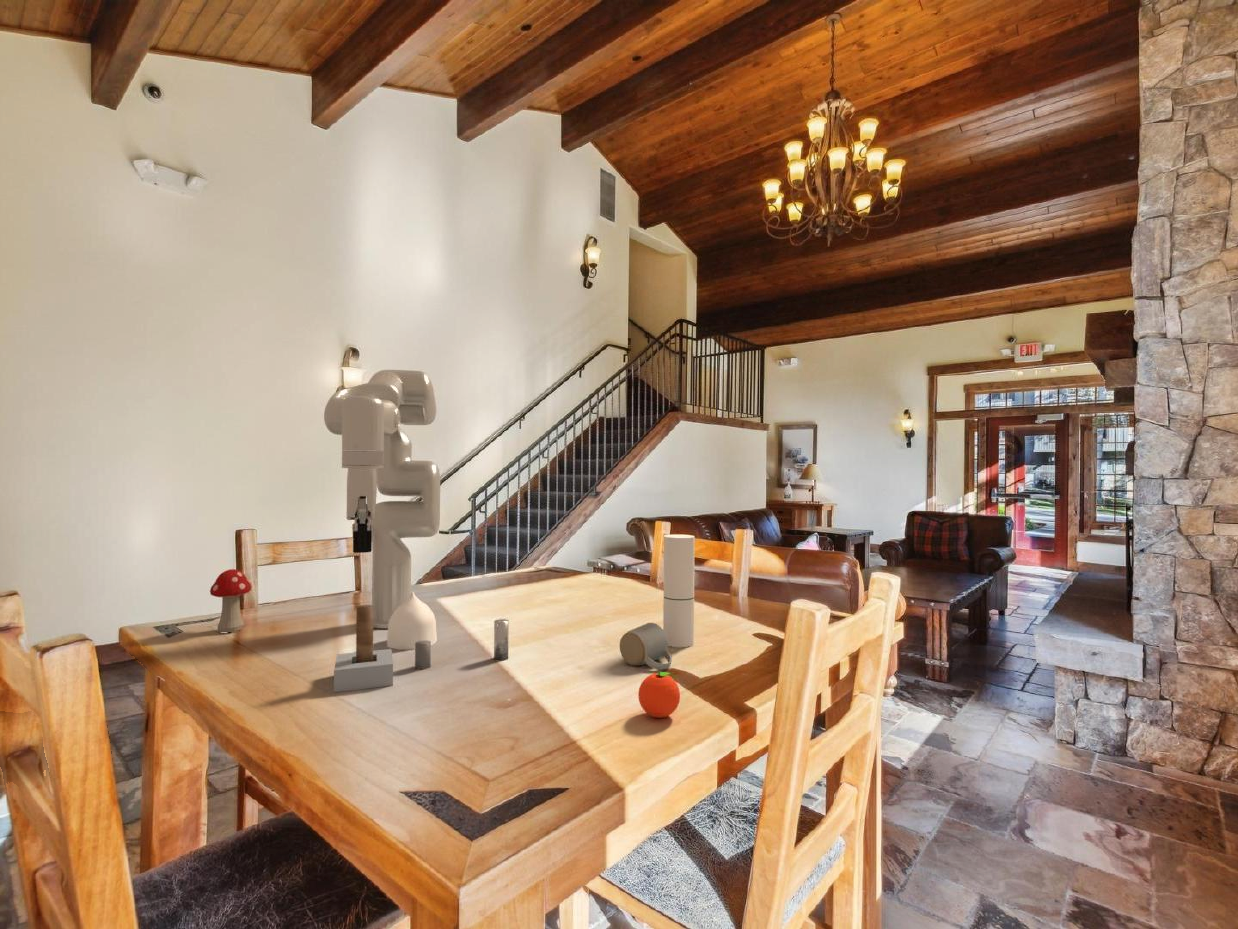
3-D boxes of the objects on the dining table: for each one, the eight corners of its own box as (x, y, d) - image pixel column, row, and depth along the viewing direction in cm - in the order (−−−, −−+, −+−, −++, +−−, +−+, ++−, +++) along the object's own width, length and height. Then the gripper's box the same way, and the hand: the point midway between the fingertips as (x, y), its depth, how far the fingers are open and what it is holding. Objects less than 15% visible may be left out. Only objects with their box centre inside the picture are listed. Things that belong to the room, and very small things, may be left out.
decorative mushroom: (217, 626, 155) (217, 567, 155) (255, 624, 157) (256, 565, 157) (203, 637, 145) (204, 573, 145) (244, 634, 148) (245, 572, 148)
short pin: (414, 665, 126) (414, 641, 126) (429, 664, 127) (430, 639, 127) (415, 670, 123) (415, 645, 123) (431, 668, 124) (431, 643, 124)
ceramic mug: (616, 662, 129) (617, 626, 129) (641, 654, 135) (641, 619, 135) (655, 675, 122) (656, 637, 122) (680, 665, 128) (681, 629, 128)
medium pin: (492, 657, 132) (493, 620, 132) (506, 655, 133) (507, 618, 133) (495, 661, 129) (495, 623, 129) (509, 659, 130) (509, 622, 130)
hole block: (336, 674, 120) (337, 654, 120) (391, 668, 124) (391, 649, 124) (333, 692, 111) (334, 670, 111) (392, 685, 114) (393, 664, 114)
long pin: (356, 678, 118) (356, 605, 118) (372, 676, 119) (373, 604, 119) (355, 683, 115) (356, 609, 115) (372, 681, 116) (373, 607, 116)
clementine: (658, 702, 107) (658, 662, 107) (691, 713, 103) (692, 671, 103) (629, 716, 101) (629, 673, 101) (663, 728, 97) (664, 683, 97)
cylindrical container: (693, 639, 147) (694, 534, 147) (694, 648, 140) (695, 538, 140) (663, 638, 147) (664, 534, 147) (662, 646, 140) (663, 537, 140)
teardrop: (376, 647, 138) (376, 594, 138) (404, 634, 149) (405, 585, 149) (420, 651, 136) (420, 597, 136) (445, 638, 146) (446, 587, 146)
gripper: (343, 459, 125) (342, 543, 126) (339, 461, 109) (339, 556, 110) (382, 460, 128) (382, 541, 128) (384, 461, 112) (384, 554, 112)
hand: (362, 548), depth 119 cm, fingers open, 9 cm apart
